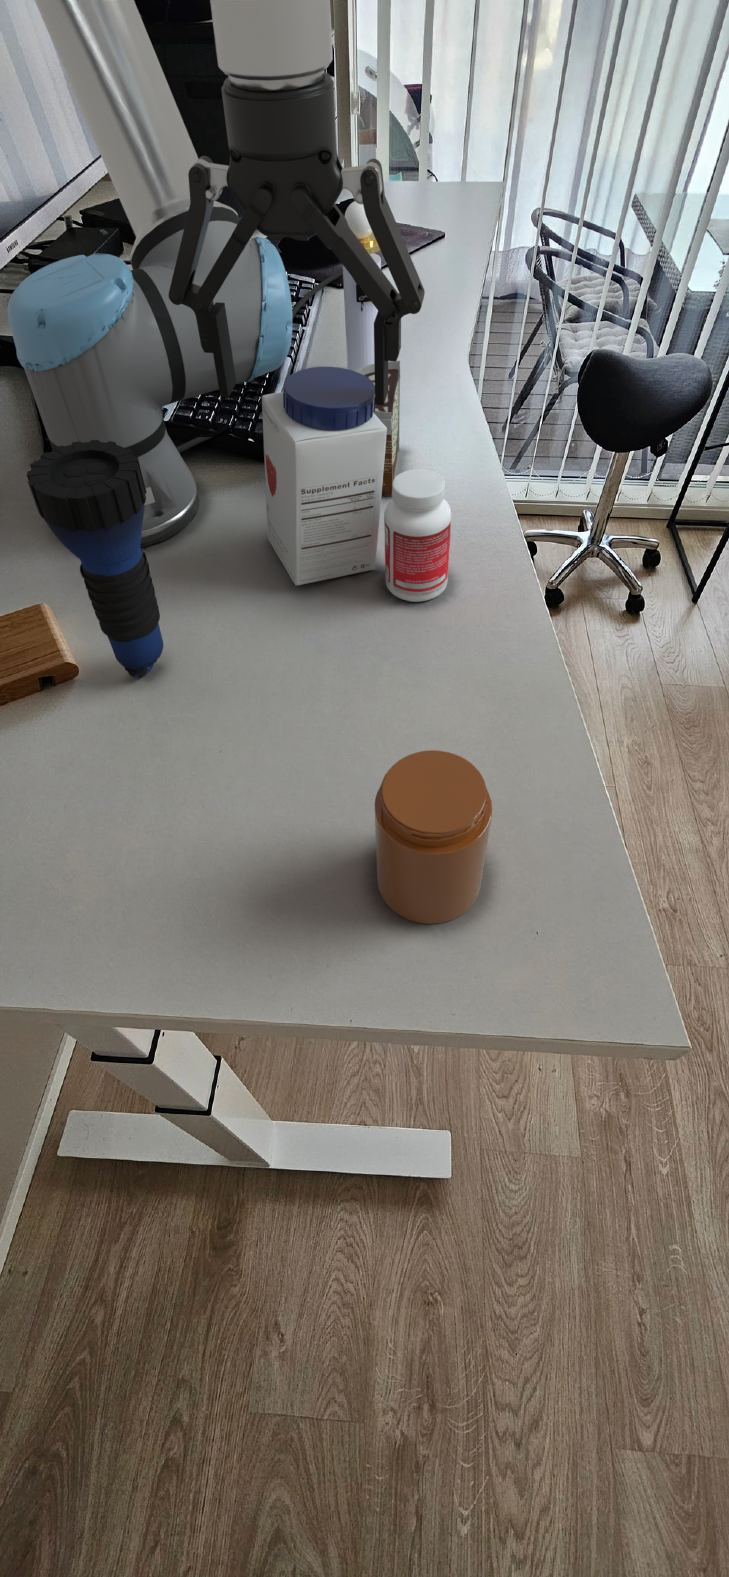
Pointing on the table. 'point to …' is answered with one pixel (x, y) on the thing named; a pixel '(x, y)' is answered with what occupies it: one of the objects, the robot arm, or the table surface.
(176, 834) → the table surface
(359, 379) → the jar lid
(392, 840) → the jar
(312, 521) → the rectangular carton
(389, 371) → the food container
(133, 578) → the flashlight
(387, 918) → the table surface
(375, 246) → the perfume bottle
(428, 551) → the pill bottle
